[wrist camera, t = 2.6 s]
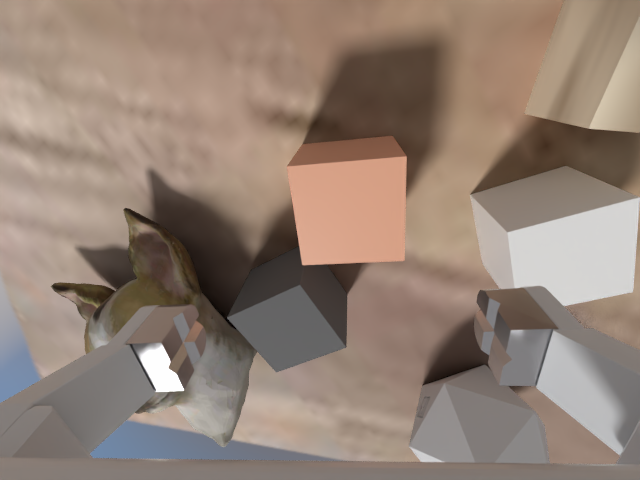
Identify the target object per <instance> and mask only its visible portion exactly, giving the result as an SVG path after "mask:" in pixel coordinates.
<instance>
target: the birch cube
mask: <svg viewBox="0 0 640 480" xmlns="http://www.w3.org/2000/svg"><path fill="white" fill-rule="evenodd" d="M524 114H527V115H531V116H536V117H540V118H544V119H549V120H553V121H557V122H562V123H566V124H570V125H575V126H579V127H583V128H588V129H599V130H612V131H624V132H637V133H640V0H564V1H563V4H562V7H561V10H560V13H559V16H558V18H557V21H556V24H555V27H554V30H553V33H552V35H551V38H550V41H549V44H548V47H547V50H546V53H545V55H544V58H543V61H542V64H541V67H540V70H539V72H538V75H537V78H536V81H535V84H534V87H533V90H532V92H531V95H530V98H529V101H528V104H527V107H526V109H525V112H524Z"/></svg>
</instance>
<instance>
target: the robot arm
mask: <svg viewBox="0 0 640 480" xmlns="http://www.w3.org/2000/svg"><path fill="white" fill-rule="evenodd" d="M477 304H478V305H479V307H480V310H479V311H478V312H477V313H476V314H475V318H474V330H475V336H476V339H477V342H478V344H479V347H480V349H481V350H482V351H483V352H485V353H486V354H488V355H489V360H488V365H489V367H490V369H491V371H492V373H493V374H494V376H495V378H496V380H497V382H498V384H499V386H537V387H536V388H537V389H538V390H540V391H541V392H542V393H543V394H545V395H546V396H547V397H548V398H550V399H551V400H552V401H553V402H554V403H556V404H557V405H558V406H559V407H561V408H562V409H563V410H564V411H566V412H567V413H568V414H569V415H571V416H572V417H573V418H574V419H575V420H577V421H578V422H579V423H580V424H582V425H583V426H584V427H585V428H587V429H588V430H589V431H590V432H592V433H593V434H594V435H595V436H597V437H598V438H599V439H600V440H601V441H603V442H604V443H605V444H606V445H608V446H609V447H610V448H611V449H613V450H614V451H615V452H616V453H618V454H619V455H620V457H619V459H618V460H617V462H616V464H556V463H467V462H371V461H284V460H282V461H281V460H202V459H199V460H198V459H117V458H110V459H109V458H92V456H91V455H90V453H91V452H92V451H93V450H94V449H95V448H96V447H97V446H99V445H100V444H101V443H102V442H103V441H104V440H105V439H106V438H107V437H108V436H109V435H110V434H112V433H113V432H114V431H115V430H116V429H117V428H118V427H119V426H120V425H122V424H123V423H124V422H125V421H126V420H127V419H128V418H129V417H130V416H131V415H132V414H134V413H135V412H136V411H137V410H138V409H139V408H140V407H141V406H142V405H143V404H145V403H146V402H147V401H148V400H149V399H150V398H151V397H152V396H153V395H154V394H155V392H164V391H184V390H185V388H186V386H187V384H188V382H189V380H190V378H191V376H192V374H193V372H194V367H193V364H194V363H195V362H196V361H198V360H199V359H200V358H201V357H202V355H203V352H204V350H205V346H206V332H205V329H204V327H203V326H202V325H201V324H200V323H199V322H197V321H196V320H197V318H198V316H199V313H198V311H197V309H196V307H195V306H194V305H192V304H180V305H151V306H144V307H141V308H140V309H139V310H138V311H137V312H136V313H135V314H134V315H133V316H132V317H131V319H130V320H129V321H128V322H127V323H126V324H125V325H124V326H123V327H122V329H121V330H120V331H119V332H118V333H117V334H116V335H115V336H114V337H113V339H112V340H111V341H110V342H109V343H108V344H107V345H101V346H100V347H98V348H96V349H94V350H93V351H91V352H89V353H87V354H86V355H84V356H82V357H80V358H79V359H77V360H75V361H73V362H72V363H70V364H68V365H66V366H65V367H63V368H61V369H59V370H58V371H56V372H54V373H52V374H51V375H49V376H47V377H45V378H43V379H42V380H40V381H38V382H37V383H35V384H33V385H31V386H29V387H28V388H26V389H24V390H23V391H21V392H19V393H17V394H16V395H14V396H12V397H10V398H8V399H7V400H5V401H3V402H1V403H0V480H640V350H638V349H636V348H634V347H632V346H630V345H628V344H625V343H623V342H621V341H619V340H617V339H614V338H612V337H610V336H608V335H606V334H604V333H601V332H599V331H597V330H595V329H593V328H586V329H585V328H584V327H583V326H582V325H581V324H580V323H579V322H578V321H577V319H576V318H575V317H574V316H573V315H572V314H571V313H570V312H569V311H568V310H567V309H566V308H565V307H564V306H563V305H562V304H561V303H560V302H559V301H558V300H557V299H556V298H555V297H554V296H553V295H552V294H551V293H550V292H549V291H548V290H547V289H546V288H545V287H543V286H529V287H520V288H507V289H489V290H480V291H479V293H478V296H477Z"/></svg>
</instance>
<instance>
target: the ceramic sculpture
mask: <svg viewBox="0 0 640 480" xmlns="http://www.w3.org/2000/svg"><path fill="white" fill-rule="evenodd" d="M124 214H125V217H126V220H127V223H128V226H129V243H130V244H129V248H128V253H129V260H130V262H131V264H132V267H133V271H134V273H135V274H136V276H137V279H134V280H132V281H129V282H128V283H126V284H124V285H123V286H121V287H119V288H118V289H117V290H116V291H114V290H112V289H111V288H108V287H106V286H102V285H93V284H74V283H54V284H53V285H52V286H51V288H52V289H53V290H54V291H55V292H57V293H58V294H60V295H61V296H63V297H65V298H68V299H69V300H71V301H72V302H74V303H75V304H76V306H77V308H78V311H79V313H80V315H81V316H82V317H83V318H84V319H85V320H86V322H87V323H86V329H85V335H84V339H85V351H86V354H87V353H89V352H91V351H93V350H94V349H96V348H98V347H100V346H101V345H107V344H108V343H109V342H110V341H111V340H112V339H113V337H114V336H115V335H116V334H117V333H118V332H119V331H120V330H121V329H122V327H123V326H124V325H125V324H126V323H127V322H128V321H129V320H130V319H131V317H132V316H133V315H134V314H135V313H136V312H137V311H138V310H139V309H140V308H141V307H144V306H151V305H180V304H192V305H194V306H195V307H196V309H197V311H198V313H199V316H198V318H197V320H196V321H197V322H199V323H200V324H201V325H202V326H203V327H204V329H205V332H206V346H205V350H204V352H203V355H202V357H201V358H200V359H199V360H198V361H196V362H195V363H194V364H193V367H194V372H193V374H192V376H191V378H190V380H189V382H188V384H187V386H186V388H185V390H184V391H164V392H155V394H154V395H153V396H152V397H151V398H150V399H149V400H148V401H147V402H146V403H145V404H143V405H142V406H141V407H140V408H139V409H138V410H137V411H136V412H135V413H137V414H139V413H142V412H148V413H157V412H160V411H163V410H164V409H166V408H168V407H171V406H174V405H175V406H176V407H177V408H178V409H179V411H180V412H181V414H182V415H183V416H184V417H185V418H186V419H187V421H188V422H189V423H190V425H191V426H192V427H193V428H194V429H195V430H197V431H199V432H202V433H203V434H205V435H206V436H208V437H210V438H212V439H214V440H215V441H216V443H218V444H219V445H220V446H223V447H224V446H226V445H227V444H228V443H229V441H230V440H231V438H232V435H233V432H234V429H235V427H236V424H237V422H238V419H239V417H240V413H241V409H242V406H243V404H244V402H245V397H246V393H247V389H248V386H249V370H250V368H251V365H252V362H253V358H254V356H255V355H256V353H257V351H256V349H255V348H254V347H253V346H252V345H251V344H250V343H249V342H248V341H247V339H246V338H245V337H244V336H243V335H242V334H241V333H240V332H239V331H238V330H236V329H234V328H232V327H231V326H230V325H229V324H228V323H227V322H226V320H225V319H224V318H223V317H222V316H221V315H220V314H219V313H218V312H217V311H216V310H215V308H214V307H213V306H212V304H211V303H210V301H209V300H208V299H207V298H206V297H205V296H204V294H203V293H202V292H201V288H200V286H199V283H198V279H197V275H196V271H195V268H194V265H193V263H192V260H191V257H190V255H189V254H188V252H187V250H186V249H185V247H184V246H183V245H182V243H181V242H180V241H179V240H178V239H177V238H175V237H174V236H173V235H171V234H170V233H169V232H168V231H167V230H166V229H164V228H163V227H161V226H160V225H158V224H157V223H155V222H153V221H151V220H150V219H148V218H146V217H144V216H142V215H140V214H138V213H136V212H135V211H133V210H131V209H128V208H125V209H124Z"/></svg>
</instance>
